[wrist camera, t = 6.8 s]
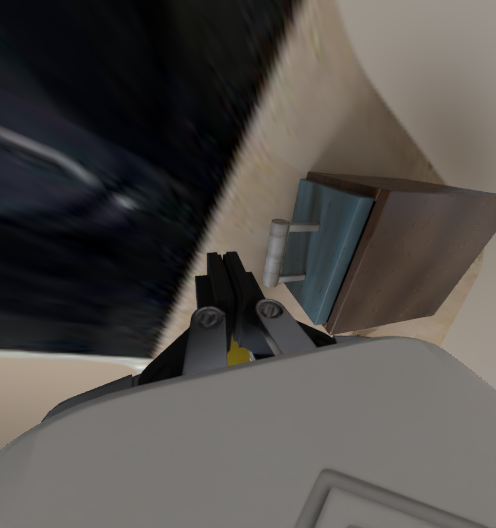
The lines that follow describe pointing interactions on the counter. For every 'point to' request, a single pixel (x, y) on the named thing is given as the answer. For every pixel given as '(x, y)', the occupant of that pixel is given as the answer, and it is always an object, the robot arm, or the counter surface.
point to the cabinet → (408, 249)
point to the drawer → (317, 245)
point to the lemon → (237, 354)
